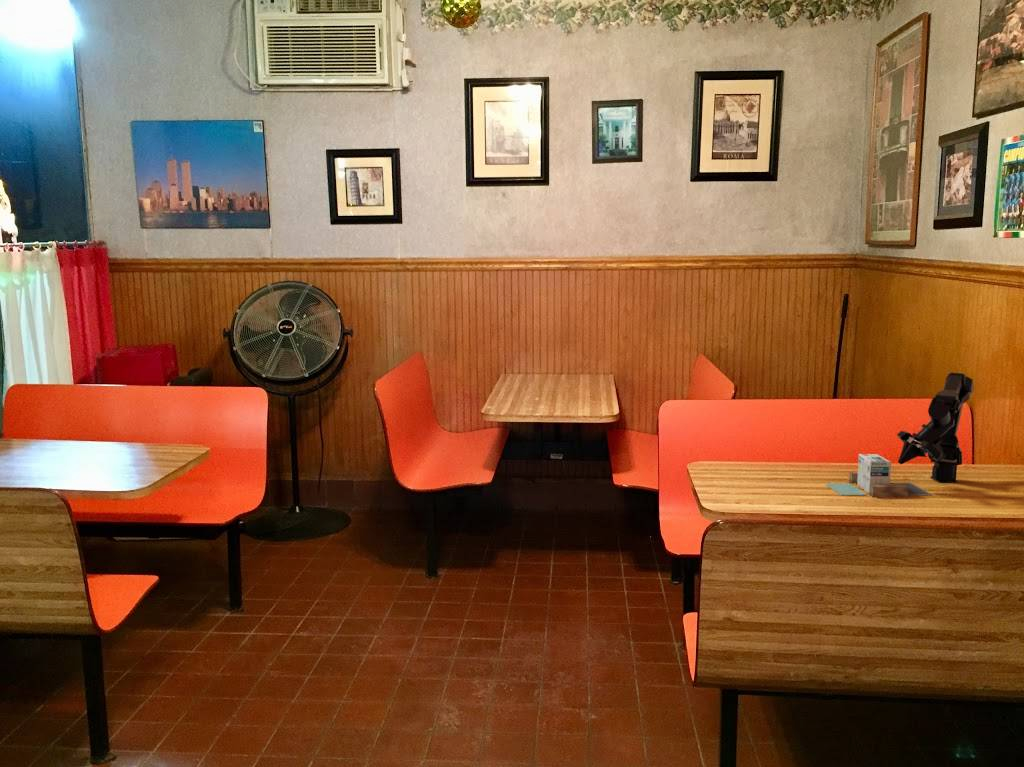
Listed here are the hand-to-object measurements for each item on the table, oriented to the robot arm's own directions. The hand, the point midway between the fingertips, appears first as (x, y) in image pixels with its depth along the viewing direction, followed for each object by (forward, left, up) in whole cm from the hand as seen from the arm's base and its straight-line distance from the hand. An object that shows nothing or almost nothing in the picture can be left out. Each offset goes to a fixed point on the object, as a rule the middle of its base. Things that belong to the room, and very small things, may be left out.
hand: (899, 463), depth 273 cm
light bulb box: (+8, 0, -9) cm, 12 cm away
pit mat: (-4, 0, -9) cm, 10 cm away
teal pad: (+17, 0, -9) cm, 19 cm away
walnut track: (+6, 0, -9) cm, 11 cm away
